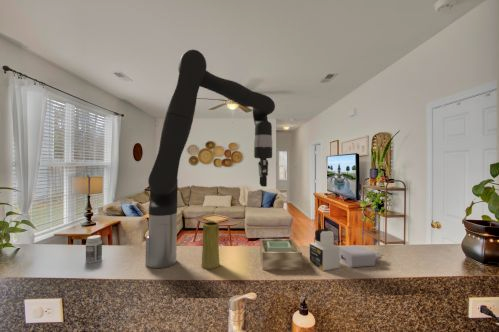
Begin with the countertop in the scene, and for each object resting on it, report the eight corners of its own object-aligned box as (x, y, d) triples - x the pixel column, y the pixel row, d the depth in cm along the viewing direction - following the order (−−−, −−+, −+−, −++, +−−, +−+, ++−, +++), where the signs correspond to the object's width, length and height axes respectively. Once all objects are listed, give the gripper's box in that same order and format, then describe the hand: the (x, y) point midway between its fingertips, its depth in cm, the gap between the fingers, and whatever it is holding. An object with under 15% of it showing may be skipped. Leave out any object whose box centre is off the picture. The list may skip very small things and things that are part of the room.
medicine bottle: (309, 262, 79) (309, 228, 79) (325, 260, 81) (325, 227, 82) (322, 271, 72) (322, 234, 72) (340, 268, 75) (340, 232, 75)
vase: (215, 270, 72) (216, 226, 73) (198, 268, 74) (198, 224, 74) (221, 262, 78) (222, 221, 79) (205, 261, 80) (206, 220, 80)
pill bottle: (99, 256, 83) (99, 234, 83) (103, 260, 80) (104, 236, 80) (83, 260, 79) (84, 237, 79) (87, 264, 76) (88, 239, 76)
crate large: (262, 269, 73) (262, 252, 73) (259, 252, 88) (259, 238, 88) (302, 269, 73) (302, 252, 73) (292, 253, 88) (292, 239, 88)
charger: (391, 266, 77) (351, 268, 75) (372, 255, 86) (336, 258, 84) (391, 252, 77) (351, 254, 75) (372, 243, 86) (336, 245, 84)
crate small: (268, 261, 77) (268, 247, 77) (266, 255, 84) (267, 241, 84) (291, 261, 77) (291, 247, 78) (288, 255, 84) (288, 241, 84)
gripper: (253, 148, 100) (253, 184, 100) (255, 144, 86) (254, 186, 86) (270, 148, 100) (270, 184, 100) (274, 144, 86) (274, 187, 86)
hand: (263, 185), depth 93 cm, fingers open, 8 cm apart
